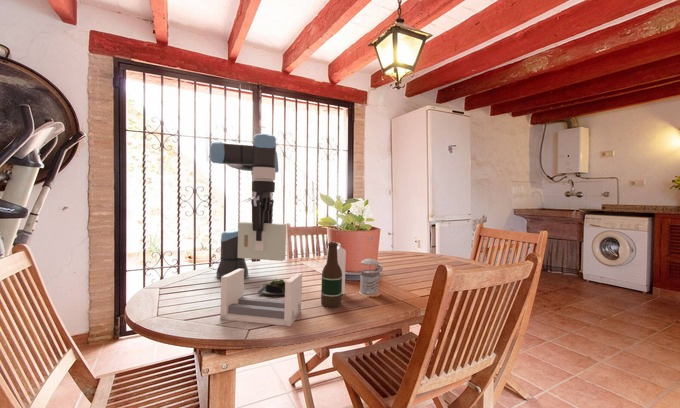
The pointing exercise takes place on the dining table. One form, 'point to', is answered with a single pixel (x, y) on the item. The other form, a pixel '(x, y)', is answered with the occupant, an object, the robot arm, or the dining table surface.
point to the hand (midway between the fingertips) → (261, 249)
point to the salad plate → (273, 289)
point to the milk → (341, 263)
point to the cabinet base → (238, 290)
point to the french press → (370, 286)
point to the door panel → (272, 242)
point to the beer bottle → (331, 279)
